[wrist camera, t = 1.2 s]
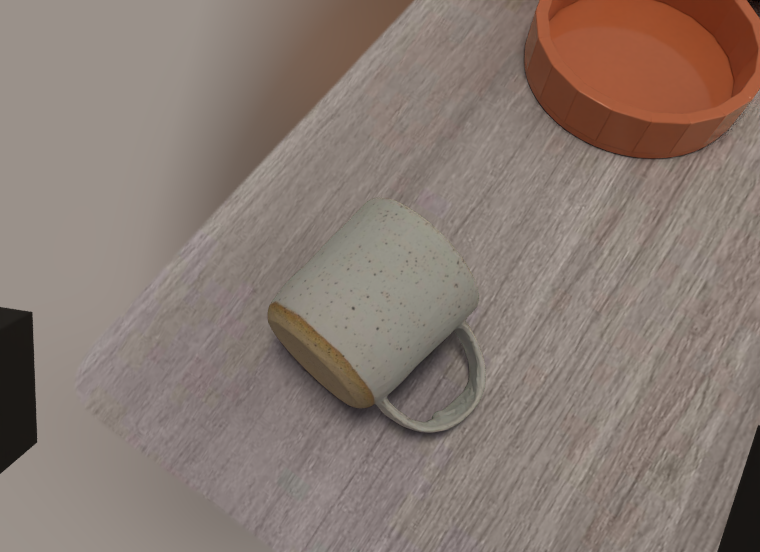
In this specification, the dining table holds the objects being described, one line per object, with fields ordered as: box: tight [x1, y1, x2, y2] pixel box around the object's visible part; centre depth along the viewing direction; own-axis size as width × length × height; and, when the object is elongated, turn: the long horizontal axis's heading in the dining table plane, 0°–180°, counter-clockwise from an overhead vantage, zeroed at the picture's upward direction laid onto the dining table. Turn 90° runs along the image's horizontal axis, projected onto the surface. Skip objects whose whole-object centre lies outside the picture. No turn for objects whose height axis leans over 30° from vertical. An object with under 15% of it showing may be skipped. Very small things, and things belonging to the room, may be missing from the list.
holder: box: [524, 0, 760, 158], centre depth 43 cm, size 15×15×4 cm
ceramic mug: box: [268, 198, 485, 433], centre depth 32 cm, size 11×8×8 cm
